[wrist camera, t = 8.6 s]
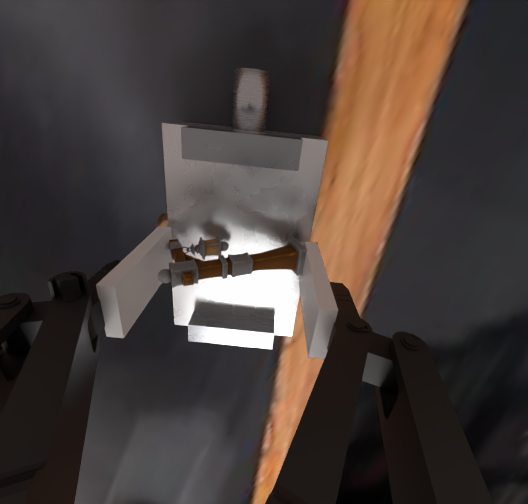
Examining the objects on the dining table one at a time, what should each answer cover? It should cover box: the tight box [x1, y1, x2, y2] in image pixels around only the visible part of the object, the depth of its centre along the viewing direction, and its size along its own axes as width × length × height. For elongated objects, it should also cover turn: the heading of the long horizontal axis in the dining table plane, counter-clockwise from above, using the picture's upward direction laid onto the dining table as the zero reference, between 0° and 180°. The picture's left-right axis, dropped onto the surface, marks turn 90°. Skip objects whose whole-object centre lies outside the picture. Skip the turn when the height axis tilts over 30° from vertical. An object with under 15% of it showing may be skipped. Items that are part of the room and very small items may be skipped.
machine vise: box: [156, 68, 328, 349], centre depth 18 cm, size 10×17×6 cm, turn 174°
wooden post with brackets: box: [158, 237, 308, 288], centre depth 16 cm, size 2×8×4 cm, turn 86°
